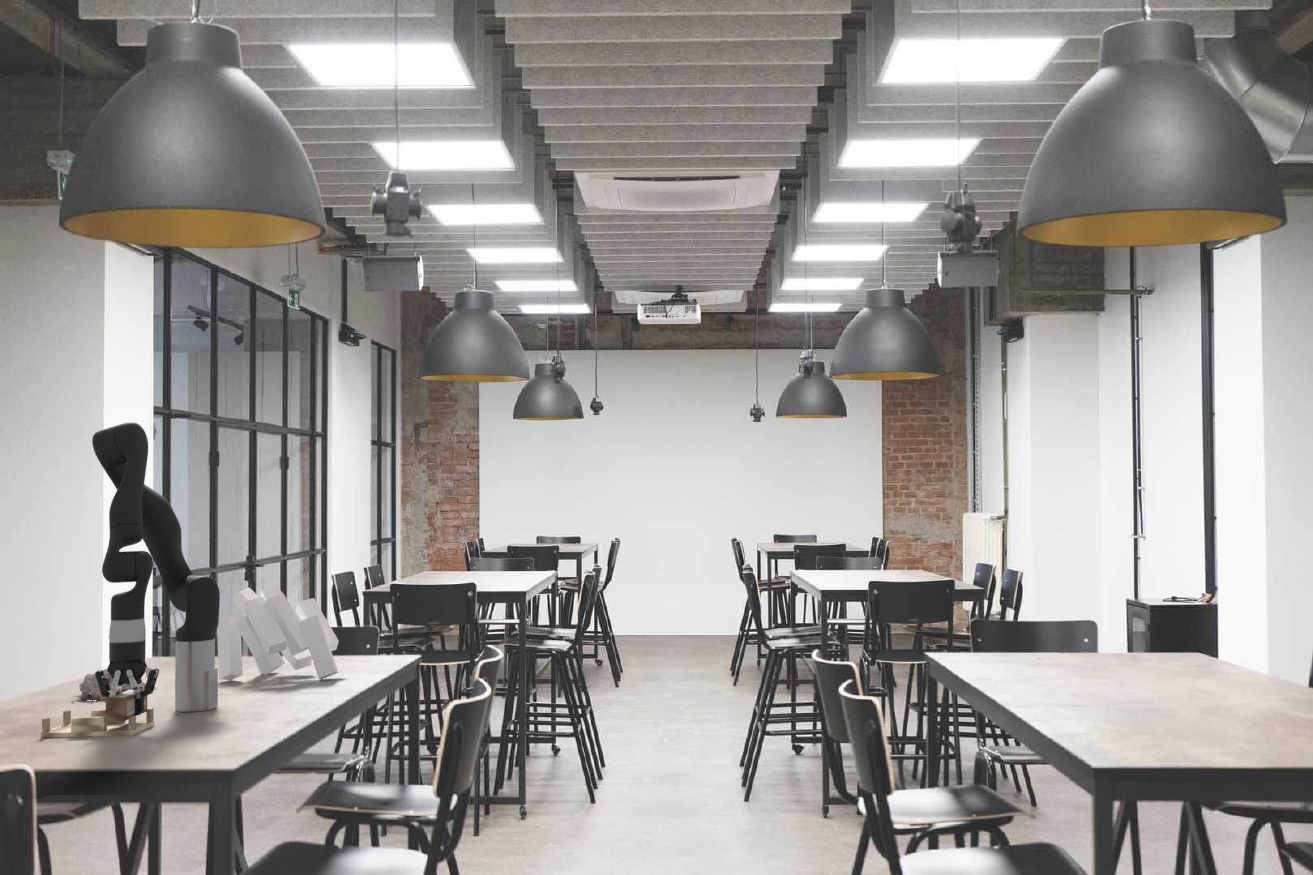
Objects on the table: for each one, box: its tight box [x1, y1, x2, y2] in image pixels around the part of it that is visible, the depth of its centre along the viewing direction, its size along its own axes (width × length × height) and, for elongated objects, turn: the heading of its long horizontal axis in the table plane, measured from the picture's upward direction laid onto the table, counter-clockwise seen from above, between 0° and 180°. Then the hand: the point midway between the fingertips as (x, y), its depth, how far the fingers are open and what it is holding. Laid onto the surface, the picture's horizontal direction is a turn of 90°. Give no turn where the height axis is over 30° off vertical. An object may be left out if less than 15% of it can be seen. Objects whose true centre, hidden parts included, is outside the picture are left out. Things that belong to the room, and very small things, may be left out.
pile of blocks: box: [216, 585, 340, 681], centre depth 343 cm, size 35×30×35 cm
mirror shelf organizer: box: [40, 707, 155, 738], centre depth 262 cm, size 20×12×4 cm, turn 91°
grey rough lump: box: [71, 669, 157, 703], centre depth 315 cm, size 19×10×30 cm
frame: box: [105, 690, 148, 721], centre depth 262 cm, size 4×12×5 cm, turn 1°
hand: (127, 714), depth 262 cm, fingers closed on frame, 4 cm apart
